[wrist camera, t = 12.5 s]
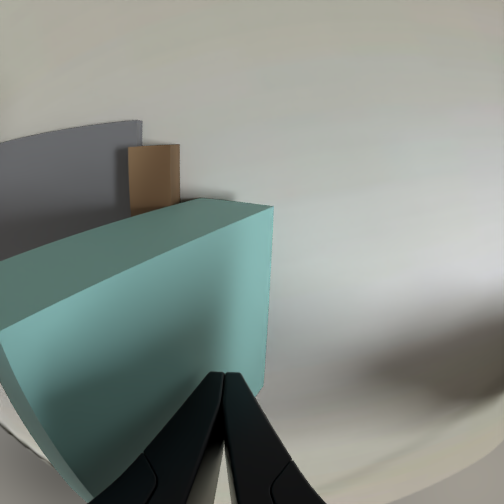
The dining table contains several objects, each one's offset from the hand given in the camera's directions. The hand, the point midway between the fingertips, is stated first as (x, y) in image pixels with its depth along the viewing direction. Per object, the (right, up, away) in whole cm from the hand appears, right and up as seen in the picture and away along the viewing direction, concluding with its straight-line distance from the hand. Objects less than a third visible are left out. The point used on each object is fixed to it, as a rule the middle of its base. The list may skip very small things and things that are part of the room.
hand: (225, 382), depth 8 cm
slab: (0, +2, +5) cm, 5 cm away
